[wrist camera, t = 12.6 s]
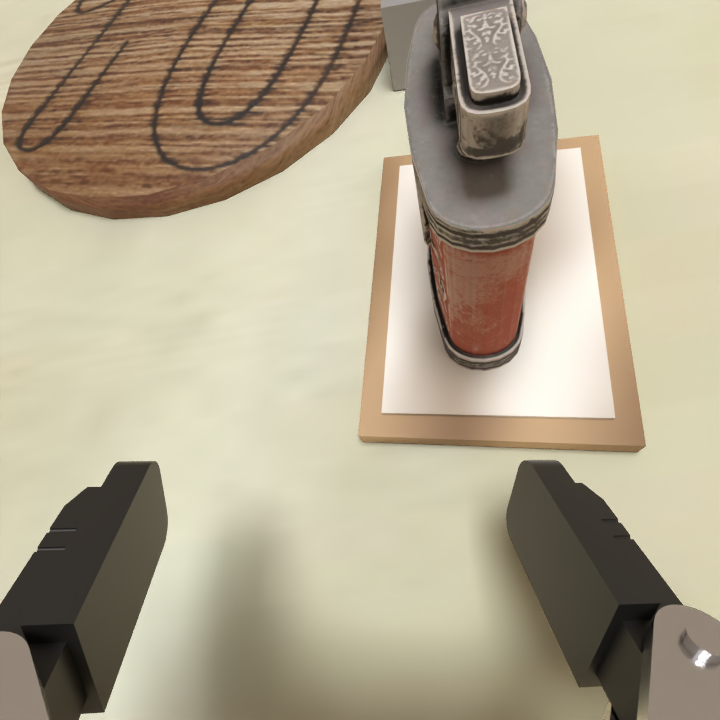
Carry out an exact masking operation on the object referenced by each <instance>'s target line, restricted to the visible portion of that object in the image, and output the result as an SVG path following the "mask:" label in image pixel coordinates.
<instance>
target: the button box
mask: <svg viewBox="0 0 720 720" xmlns="http://www.w3.org/2000/svg"><path fill="white" fill-rule="evenodd" d="M434 4H436V0H381V15H382V21H383V27H384V33H385V39H386V45H387V52H388V58H389V64H390V70H391V76H392V82H393V88H394V91H396V90H403V89H405V84H406V65H407V59H408V55H409V51H410V46H411V42H412V37H413V33H414V29H415V24H416V23H417V21H418V19H419V17H420V15H421V14H422V13H424V12H425V11H426V10H427V9H428V8H429V7H430V6H432V5H434Z"/></svg>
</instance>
